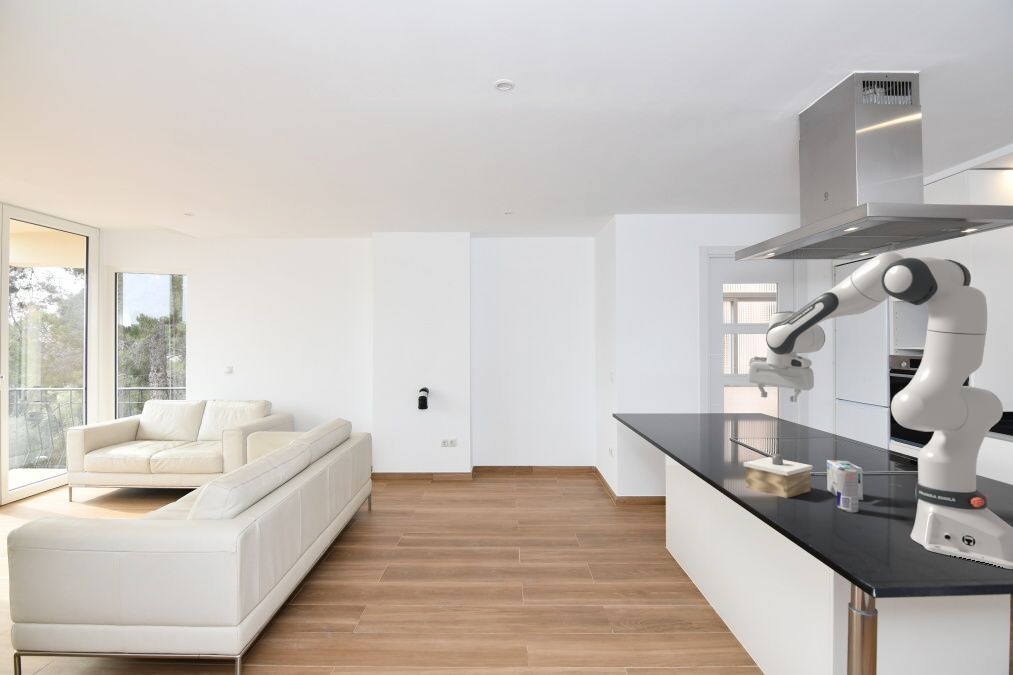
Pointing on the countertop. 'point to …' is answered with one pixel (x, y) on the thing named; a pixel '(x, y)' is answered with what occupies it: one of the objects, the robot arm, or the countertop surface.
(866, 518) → the countertop surface
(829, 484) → the light bulb box
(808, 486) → the box
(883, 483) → the countertop surface
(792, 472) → the lid
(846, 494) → the energy drink
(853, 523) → the countertop surface
